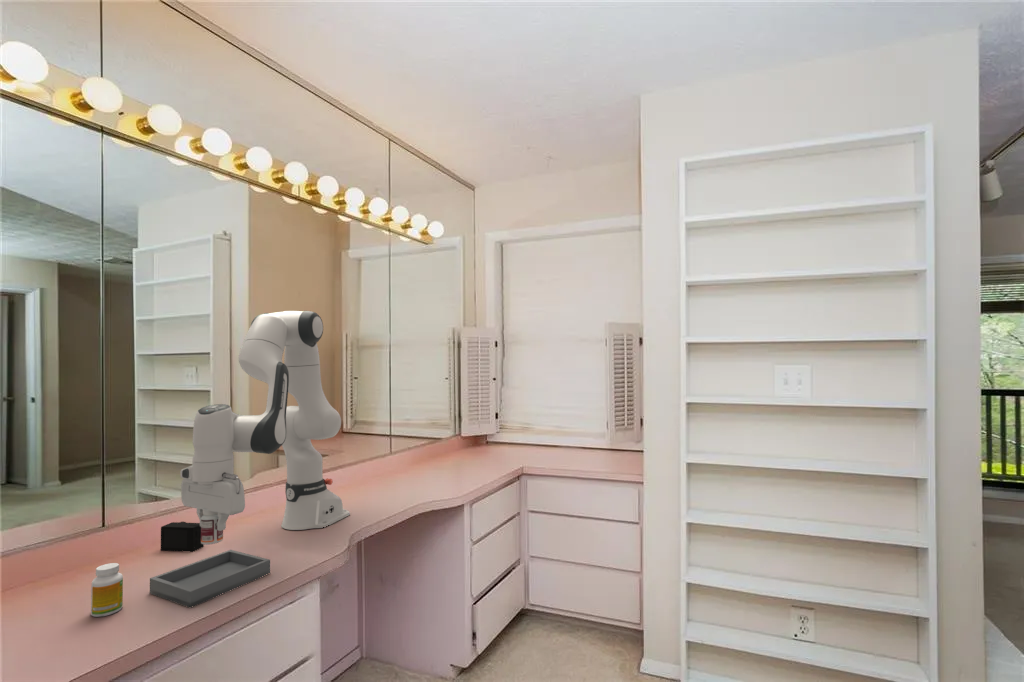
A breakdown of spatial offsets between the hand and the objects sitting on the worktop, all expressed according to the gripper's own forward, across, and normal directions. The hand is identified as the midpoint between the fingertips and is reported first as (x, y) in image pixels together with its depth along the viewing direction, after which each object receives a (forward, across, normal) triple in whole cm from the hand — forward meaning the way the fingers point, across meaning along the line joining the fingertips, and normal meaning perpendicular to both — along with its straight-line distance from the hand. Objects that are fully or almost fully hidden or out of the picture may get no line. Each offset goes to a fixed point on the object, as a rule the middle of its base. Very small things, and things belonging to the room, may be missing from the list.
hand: (212, 528), depth 125 cm
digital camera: (+14, +31, -11) cm, 36 cm away
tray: (+13, 0, 0) cm, 13 cm away
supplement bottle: (+14, +7, +19) cm, 24 cm away
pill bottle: (+3, 0, 0) cm, 3 cm away
